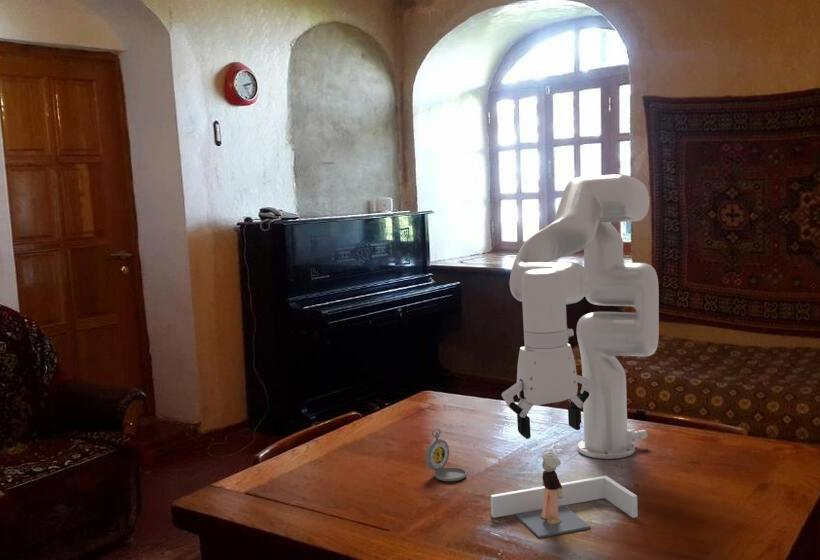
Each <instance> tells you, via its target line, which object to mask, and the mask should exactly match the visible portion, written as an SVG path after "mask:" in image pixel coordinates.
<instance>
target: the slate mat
mask: <svg viewBox="0 0 820 560" xmlns="http://www.w3.org/2000/svg"><path fill="white" fill-rule="evenodd" d="M558 512H559V518H560V519H561V522H560V523H557V524H548V523H547V522H546V520H547V519H544V518H541V513H542V509H540V510H535V511H529V512H523V513H518V514H515V517H516V518H517V519H518V520H519V521H520V522H521V523H522V524H523V525H525V527H526V528H528V529H529V531H531V533H533V534H534V535H535V536H536V537H537V538H538V539H541V538H546V537H552V536H558V535H563V534H569V533H573V532H580V531H583V530H590V529H591V528H592V527H591V525H590V524H589V523H588V522H587V521H585V520H583V519H582V518H581V517H580V516H579V515H577V514H576V513H575V512H574V511H573V510H571V509H570V508H568V507H567V505H563V506H558Z"/></svg>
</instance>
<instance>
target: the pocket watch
mask: <svg viewBox="0 0 820 560" xmlns="http://www.w3.org/2000/svg"><path fill="white" fill-rule="evenodd" d="M436 430H438V431H439V432H436V433H435V434H434V431H436ZM431 435H432V436H433V437H435V439H434V440H433V441H431V443H429V444H428V446H427V448H426V453H425V462H426V465H427V466H428V468H429V469H431V470H432V471H435V473H434V477H435V478H436V479H437V480H440V481H443V482H456V481H457V482H458V481H460V480H463V479H465V478H466V476H467V471H466V470H465V469H464V468H461V467H445V466H446V464H447V463H448V460H449V457H450V446H449V445H448V443H447V441H446V440H444V439H441V438H439V437H440V435H441V429H440V428H438V427H437V428H436V427H435V428H433V430H432V431H431ZM444 467H445V468H444Z"/></svg>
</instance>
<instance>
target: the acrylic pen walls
mask: <svg viewBox="0 0 820 560" xmlns="http://www.w3.org/2000/svg"><path fill="white" fill-rule="evenodd" d="M560 484H561V486H562V494H563V498H561V499H559V498H558V497H557V498H558V507H559V506H568V505H573V504H579V503H585V502H589V501H596V500H601V499H605V500H607V501H608V502H609V503H611V504H612V505H614V506H615V507H617V508H618V509H620V510H621V511H622V512H624V513H625V514H627V515H628V516H629V517H631V518H632V519H633V518H638V517H639V516H638V495H636V494H635V493H634V492H632V491H630V490H629V489H627V488H626V487H624V486H623V485H622V484H619V483H618V482H617V481H615V480H614V479H612V478H611V477H609V476H607V475H602V476H596V477H595V476H594V477H589V478H584V479H583V478H582V479H579V480H578V479H577V480H574V481H573V480H572V481H567V482H562V483H561V482H560ZM544 489H545V486H543V485H542V486H537V487H530V488H525V489H519V490H512V491H505V492H501V493H495V494H490V510H491V511H490V512H491V514H490V515H491V517H492V518H493V519H494V518H499V517H505V516H512V515H516V514H520V513H525V512H531V511H536V510H542V509H543V499H544Z"/></svg>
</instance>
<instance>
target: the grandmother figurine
mask: <svg viewBox="0 0 820 560" xmlns="http://www.w3.org/2000/svg"><path fill="white" fill-rule="evenodd" d="M541 457H542V464H541V466H542V469H543V472H542V483H541V484H542V486H545V489H544V499H543V509H541V510H542V513H541V518H544V519H547V520H546V522H547V523H548V524H557V523H560V522H561V519H560V518H559V512H558V507H559V506H558V498H559V499H561V498H563V494H562V486H561V484H560V483H561V482H560V479H559V477H558V474H557V471H556V469H557V467H560V465H561V464H562V461H561V460H560V458H559V457H558V455H557V454H555V453H554V452H551V451H545V452H544V453H542V456H541ZM557 497H558V498H557Z"/></svg>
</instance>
